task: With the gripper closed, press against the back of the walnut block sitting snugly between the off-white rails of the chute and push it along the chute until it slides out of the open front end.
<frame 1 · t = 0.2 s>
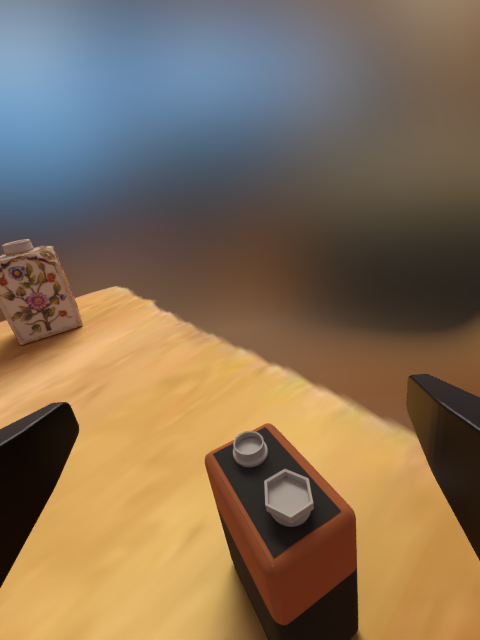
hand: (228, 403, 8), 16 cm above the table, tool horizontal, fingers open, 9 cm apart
decorative jar: (53, 328, 67), on the table
battery: (289, 592, 18), on the table
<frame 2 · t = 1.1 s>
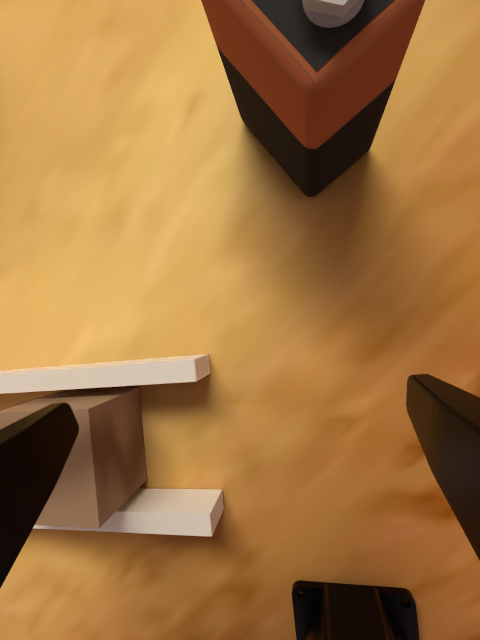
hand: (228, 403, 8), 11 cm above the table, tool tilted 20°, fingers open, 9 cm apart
walnut block: (103, 433, 21), on the table
battery: (303, 135, 18), on the table
chute: (76, 435, 22), on the table
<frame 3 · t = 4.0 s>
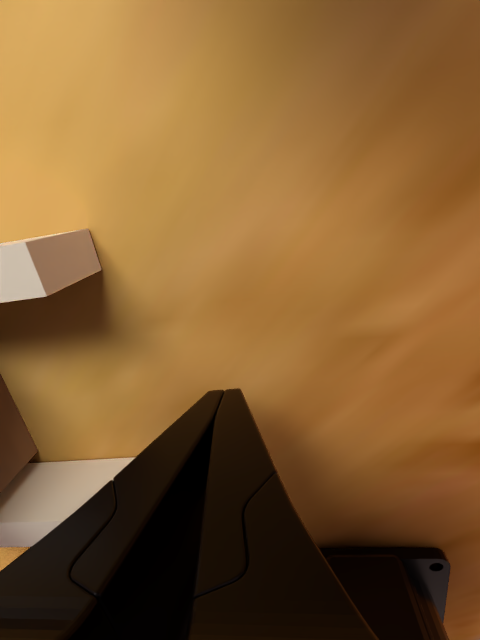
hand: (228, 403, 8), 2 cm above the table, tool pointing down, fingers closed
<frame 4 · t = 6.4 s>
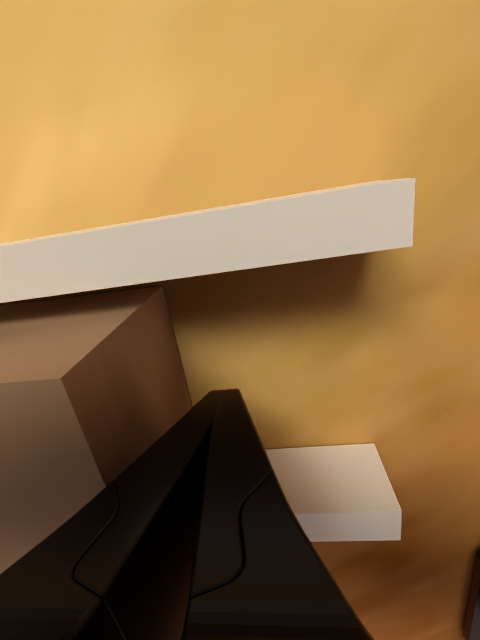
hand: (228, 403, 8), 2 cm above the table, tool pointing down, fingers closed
walnut block: (99, 379, 11), on the table, touching gripper
chute: (73, 380, 11), on the table
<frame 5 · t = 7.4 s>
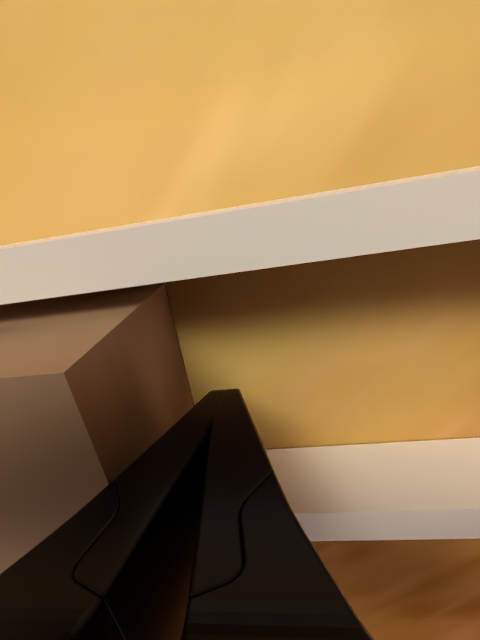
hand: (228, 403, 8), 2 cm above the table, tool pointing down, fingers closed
walnut block: (101, 377, 11), on the table, touching gripper
chute: (212, 367, 10), on the table
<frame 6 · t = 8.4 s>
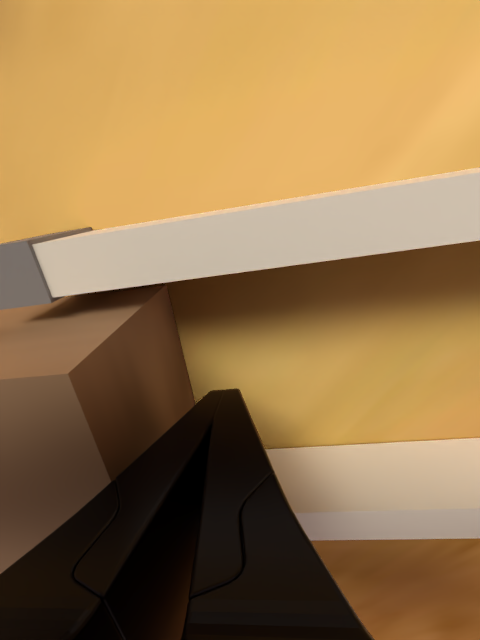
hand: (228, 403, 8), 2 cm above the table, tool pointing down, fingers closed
walnut block: (104, 377, 11), on the table, touching gripper
chute: (403, 349, 10), on the table
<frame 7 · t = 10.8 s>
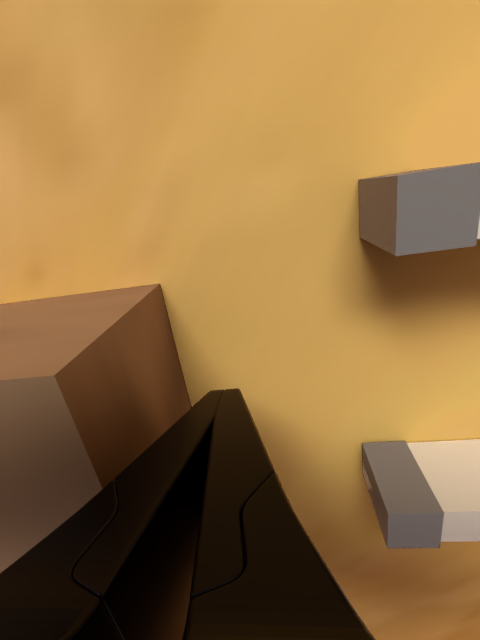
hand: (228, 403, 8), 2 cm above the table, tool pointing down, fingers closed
walnut block: (97, 378, 11), on the table, touching gripper
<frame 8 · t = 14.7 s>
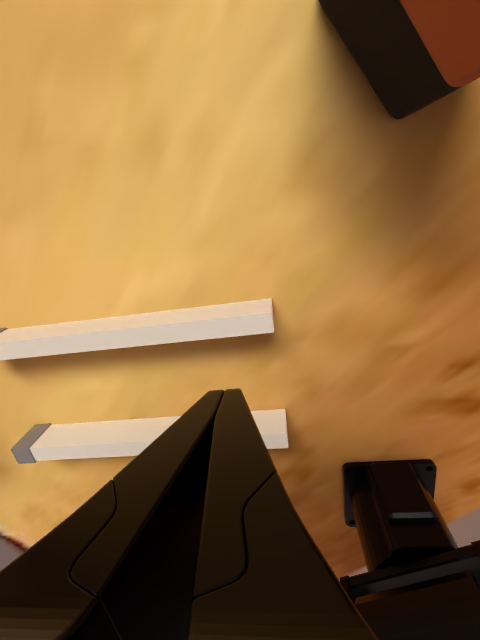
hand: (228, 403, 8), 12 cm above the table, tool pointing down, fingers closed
battery: (393, 26, 14), on the table
chute: (140, 377, 23), on the table
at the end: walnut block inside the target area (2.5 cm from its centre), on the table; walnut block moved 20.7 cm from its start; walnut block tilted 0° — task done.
